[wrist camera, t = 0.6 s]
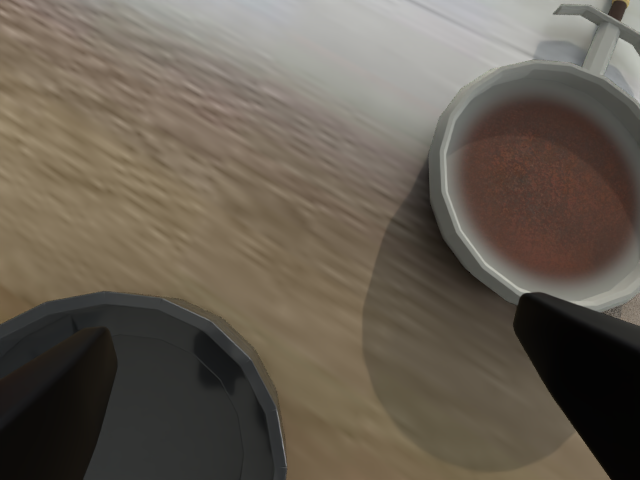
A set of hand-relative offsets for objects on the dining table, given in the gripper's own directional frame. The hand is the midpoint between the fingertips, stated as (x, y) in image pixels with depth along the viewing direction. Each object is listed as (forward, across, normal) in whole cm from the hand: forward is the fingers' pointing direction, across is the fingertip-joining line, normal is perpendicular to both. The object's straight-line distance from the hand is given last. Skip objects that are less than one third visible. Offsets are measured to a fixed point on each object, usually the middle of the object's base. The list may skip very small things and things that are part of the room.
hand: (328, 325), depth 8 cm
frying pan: (+19, -20, -1) cm, 28 cm away
